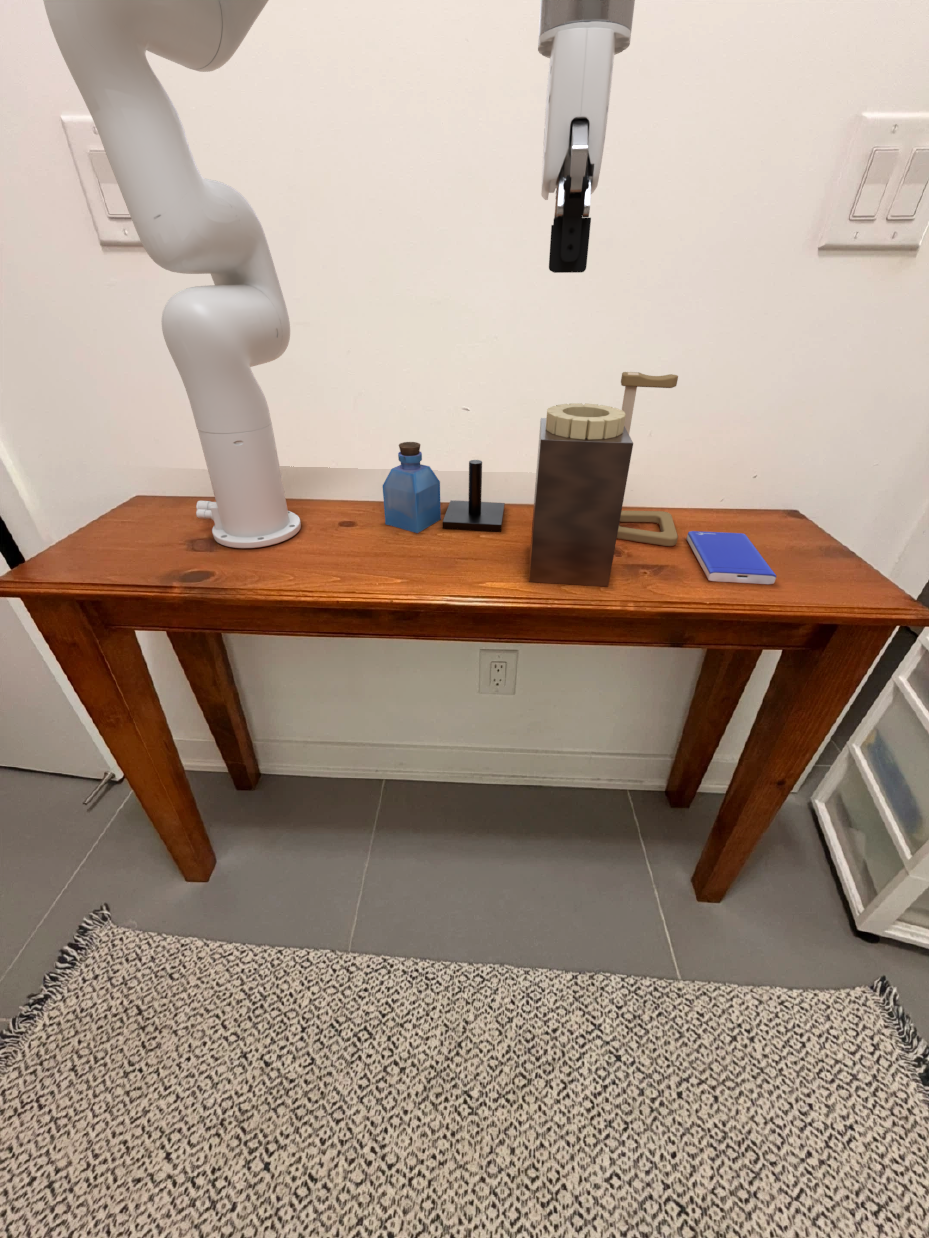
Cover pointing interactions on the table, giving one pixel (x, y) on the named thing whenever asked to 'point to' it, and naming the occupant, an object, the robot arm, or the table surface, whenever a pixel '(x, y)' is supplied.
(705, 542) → the hard drive
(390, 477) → the perfume bottle
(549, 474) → the stand box
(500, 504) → the post
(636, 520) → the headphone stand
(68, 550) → the table surface
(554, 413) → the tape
